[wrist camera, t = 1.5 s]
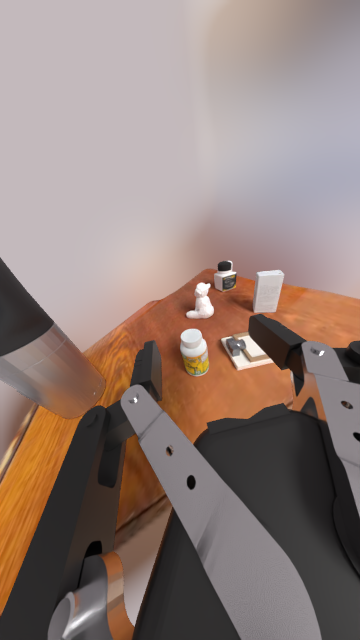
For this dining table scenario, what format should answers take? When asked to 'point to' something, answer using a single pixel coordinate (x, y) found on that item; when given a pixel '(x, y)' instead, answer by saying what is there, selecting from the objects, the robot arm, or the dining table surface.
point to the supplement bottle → (194, 352)
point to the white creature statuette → (201, 303)
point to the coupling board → (247, 353)
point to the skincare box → (267, 291)
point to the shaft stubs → (235, 346)
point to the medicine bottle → (225, 277)
